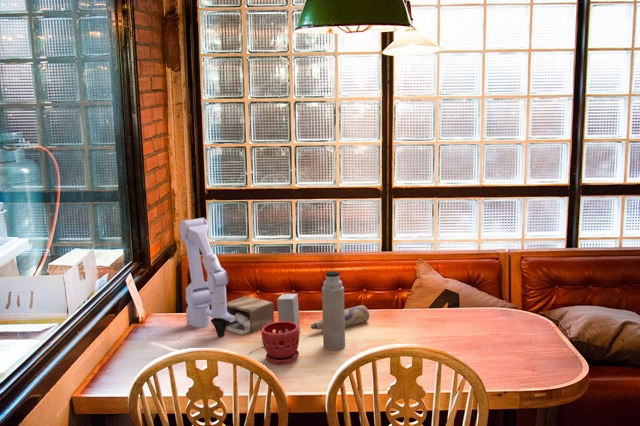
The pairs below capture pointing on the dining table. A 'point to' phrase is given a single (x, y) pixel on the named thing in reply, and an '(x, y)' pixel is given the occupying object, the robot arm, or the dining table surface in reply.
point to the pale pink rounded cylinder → (246, 324)
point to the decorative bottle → (349, 317)
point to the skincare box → (288, 309)
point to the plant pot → (281, 342)
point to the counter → (252, 311)
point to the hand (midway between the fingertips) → (220, 336)
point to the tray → (233, 329)
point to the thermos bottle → (333, 312)
